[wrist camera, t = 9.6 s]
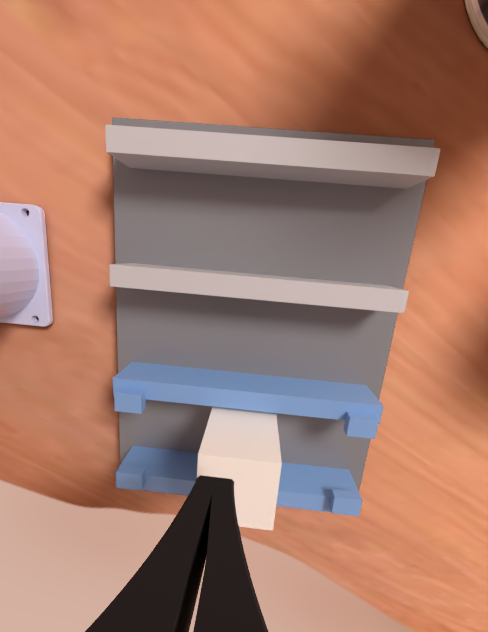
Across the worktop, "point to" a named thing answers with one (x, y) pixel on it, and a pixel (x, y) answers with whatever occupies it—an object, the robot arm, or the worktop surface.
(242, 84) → the worktop surface
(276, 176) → the grey railed board
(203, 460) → the cream plug
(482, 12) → the coffee can
